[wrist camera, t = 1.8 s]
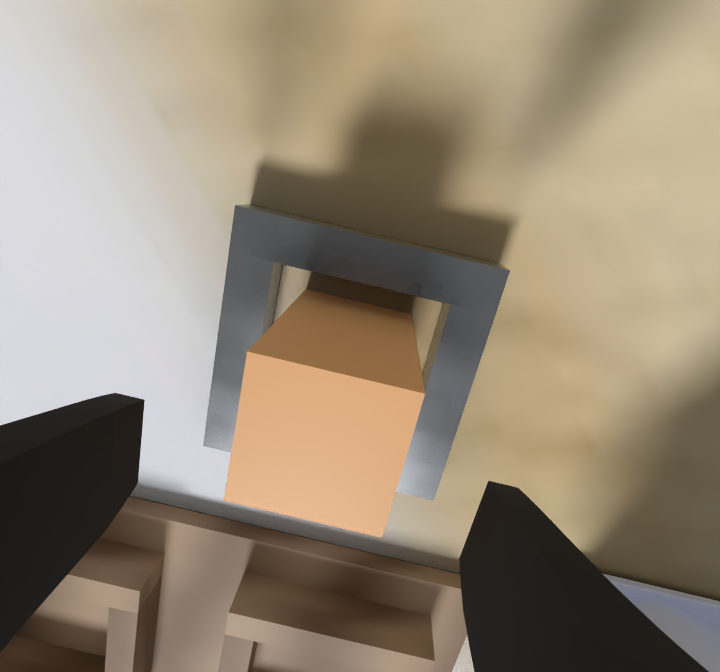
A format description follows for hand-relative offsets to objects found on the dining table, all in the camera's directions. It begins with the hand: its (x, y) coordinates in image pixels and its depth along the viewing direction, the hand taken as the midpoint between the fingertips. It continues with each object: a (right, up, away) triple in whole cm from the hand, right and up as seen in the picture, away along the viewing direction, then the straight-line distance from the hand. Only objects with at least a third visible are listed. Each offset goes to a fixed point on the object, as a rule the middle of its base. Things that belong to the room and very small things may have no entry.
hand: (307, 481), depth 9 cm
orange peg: (+1, +2, +8) cm, 8 cm away
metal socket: (+1, +2, +8) cm, 8 cm away
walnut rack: (-7, -11, +12) cm, 18 cm away
